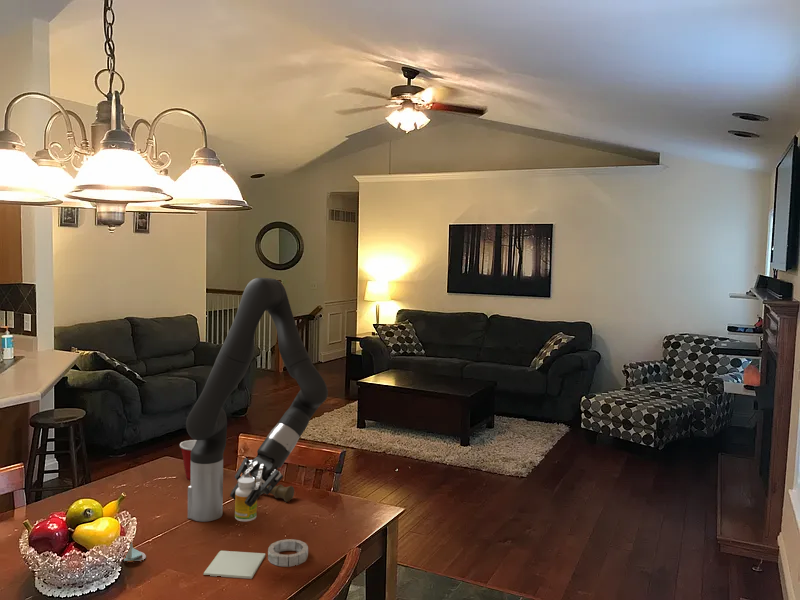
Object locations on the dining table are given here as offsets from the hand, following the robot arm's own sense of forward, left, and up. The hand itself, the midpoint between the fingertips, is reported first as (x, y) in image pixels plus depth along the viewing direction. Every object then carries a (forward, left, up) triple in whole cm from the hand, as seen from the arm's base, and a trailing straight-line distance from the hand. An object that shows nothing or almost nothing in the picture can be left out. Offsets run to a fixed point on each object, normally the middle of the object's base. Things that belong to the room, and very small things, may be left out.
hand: (240, 501), depth 164 cm
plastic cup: (-34, +58, -17) cm, 69 cm away
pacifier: (-28, 0, -17) cm, 33 cm away
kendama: (-7, +46, -17) cm, 49 cm away
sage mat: (-1, 0, -17) cm, 17 cm away
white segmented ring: (+11, +6, -17) cm, 21 cm away
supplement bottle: (+1, +1, -5) cm, 5 cm away
